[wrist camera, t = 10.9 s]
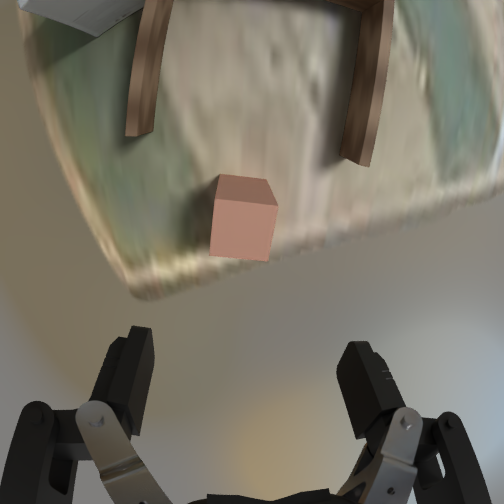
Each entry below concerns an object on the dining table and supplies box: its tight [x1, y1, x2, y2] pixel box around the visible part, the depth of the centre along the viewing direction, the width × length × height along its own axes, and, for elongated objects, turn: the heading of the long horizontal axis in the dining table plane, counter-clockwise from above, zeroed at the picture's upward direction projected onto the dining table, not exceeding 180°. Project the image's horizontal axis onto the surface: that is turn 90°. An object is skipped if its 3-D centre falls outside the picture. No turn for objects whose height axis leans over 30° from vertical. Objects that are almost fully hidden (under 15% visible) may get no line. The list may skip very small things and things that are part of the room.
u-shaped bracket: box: [125, 0, 394, 167], centre depth 20 cm, size 17×20×5 cm
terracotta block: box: [209, 174, 278, 261], centre depth 25 cm, size 4×4×8 cm
